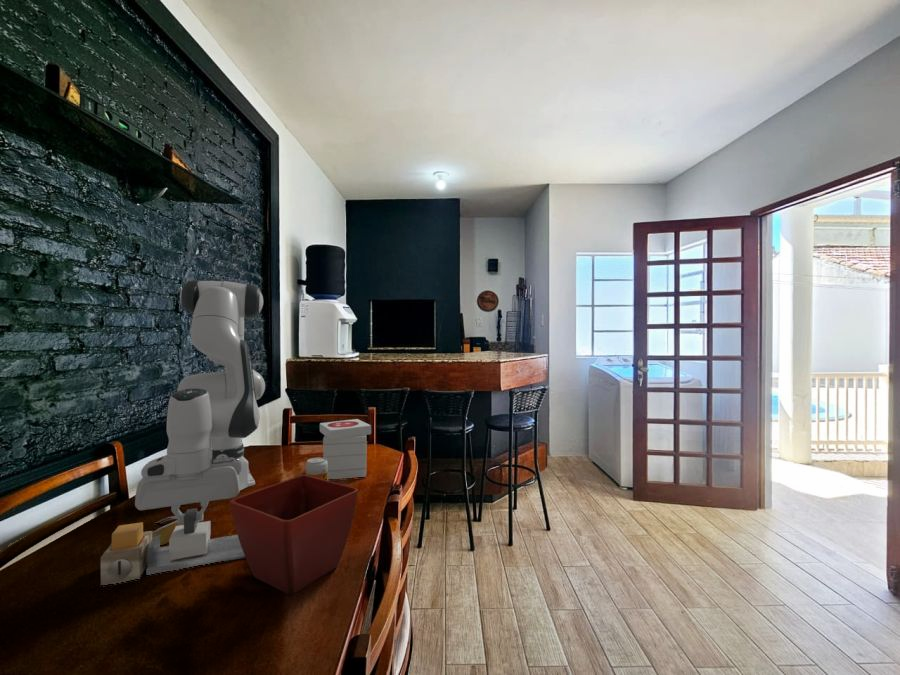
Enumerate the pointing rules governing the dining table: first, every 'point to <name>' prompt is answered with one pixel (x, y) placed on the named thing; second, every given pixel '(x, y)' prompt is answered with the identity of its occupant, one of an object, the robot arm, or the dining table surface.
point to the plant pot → (294, 530)
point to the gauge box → (125, 562)
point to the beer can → (317, 468)
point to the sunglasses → (165, 530)
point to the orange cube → (127, 536)
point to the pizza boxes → (345, 448)
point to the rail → (217, 552)
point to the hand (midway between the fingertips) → (190, 521)
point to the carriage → (189, 537)
